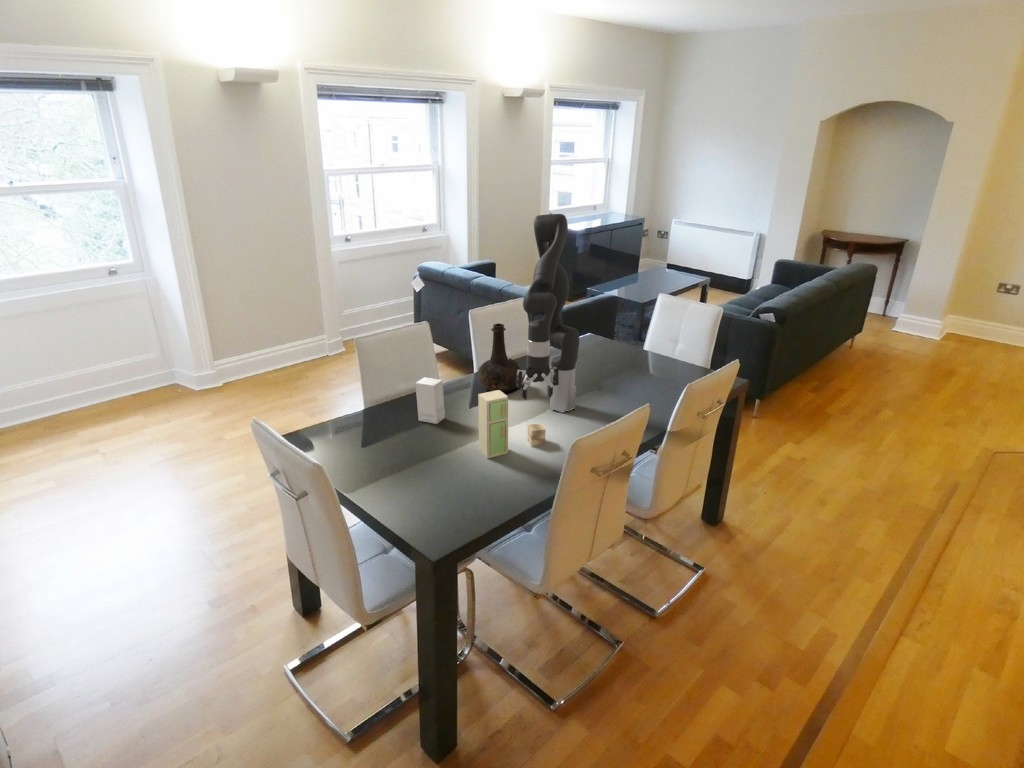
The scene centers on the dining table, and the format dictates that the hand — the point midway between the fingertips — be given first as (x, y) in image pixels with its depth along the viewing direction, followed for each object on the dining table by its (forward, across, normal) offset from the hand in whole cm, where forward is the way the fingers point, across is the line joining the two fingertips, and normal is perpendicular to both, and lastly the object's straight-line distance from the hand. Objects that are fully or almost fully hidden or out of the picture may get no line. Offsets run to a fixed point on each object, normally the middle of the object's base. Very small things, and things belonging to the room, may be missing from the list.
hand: (536, 397), depth 210 cm
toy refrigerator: (+17, +16, +4) cm, 24 cm away
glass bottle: (+17, +1, -51) cm, 54 cm away
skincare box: (+17, +33, -27) cm, 46 cm away
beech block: (+17, 0, 0) cm, 17 cm away
